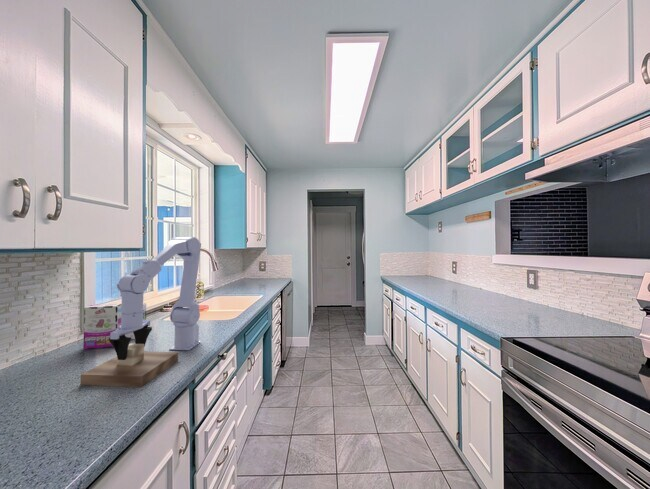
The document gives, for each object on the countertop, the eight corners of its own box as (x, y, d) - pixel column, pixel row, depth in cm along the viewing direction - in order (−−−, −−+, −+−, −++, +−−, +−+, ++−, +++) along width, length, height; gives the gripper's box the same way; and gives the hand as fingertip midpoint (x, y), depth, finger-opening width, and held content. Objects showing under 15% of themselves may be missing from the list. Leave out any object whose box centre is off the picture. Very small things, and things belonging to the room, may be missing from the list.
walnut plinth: (128, 359, 96) (128, 350, 96) (177, 360, 95) (178, 352, 95) (80, 384, 78) (80, 374, 78) (141, 387, 77) (141, 376, 77)
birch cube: (129, 358, 89) (129, 343, 89) (143, 359, 89) (144, 343, 89) (116, 365, 84) (117, 349, 84) (132, 365, 84) (132, 349, 84)
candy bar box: (122, 343, 111) (123, 303, 112) (116, 347, 107) (117, 306, 107) (89, 345, 109) (91, 304, 109) (82, 350, 104) (83, 307, 104)
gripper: (136, 306, 94) (135, 346, 94) (100, 317, 80) (99, 363, 80) (156, 307, 94) (155, 346, 94) (124, 318, 79) (122, 364, 79)
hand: (131, 354), depth 87 cm, fingers open, 7 cm apart
